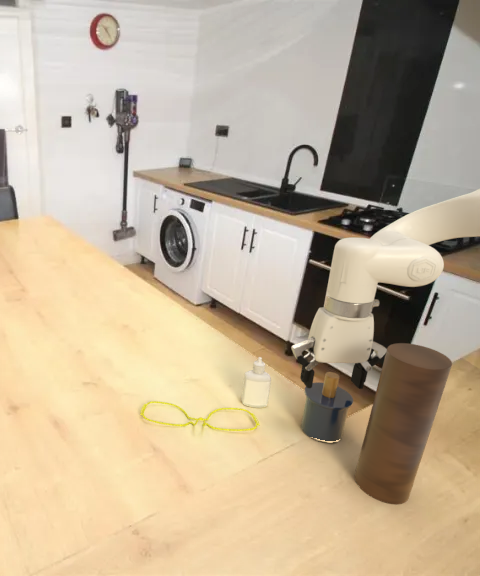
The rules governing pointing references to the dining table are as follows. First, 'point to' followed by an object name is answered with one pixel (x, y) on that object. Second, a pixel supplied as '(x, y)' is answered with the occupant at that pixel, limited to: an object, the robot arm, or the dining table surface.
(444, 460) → the dining table surface
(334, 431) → the canister
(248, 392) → the eye dropper bottle
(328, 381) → the lid
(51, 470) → the dining table surface
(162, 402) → the glasses
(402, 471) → the brown wooden cylinder
